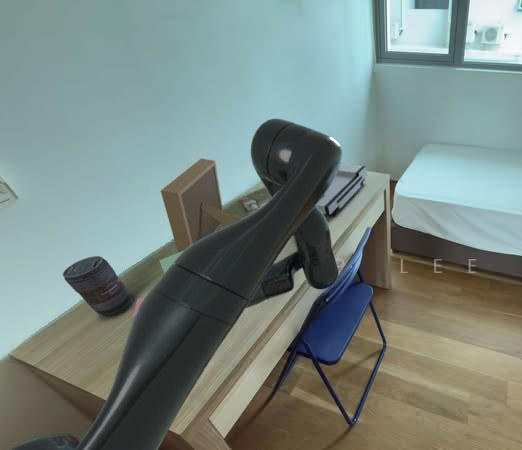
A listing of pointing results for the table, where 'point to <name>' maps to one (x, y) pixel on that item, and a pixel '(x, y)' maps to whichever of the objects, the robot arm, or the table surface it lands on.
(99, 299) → the camera lens
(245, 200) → the paintbrush
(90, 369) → the table surface
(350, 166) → the game console
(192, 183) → the photo frame
